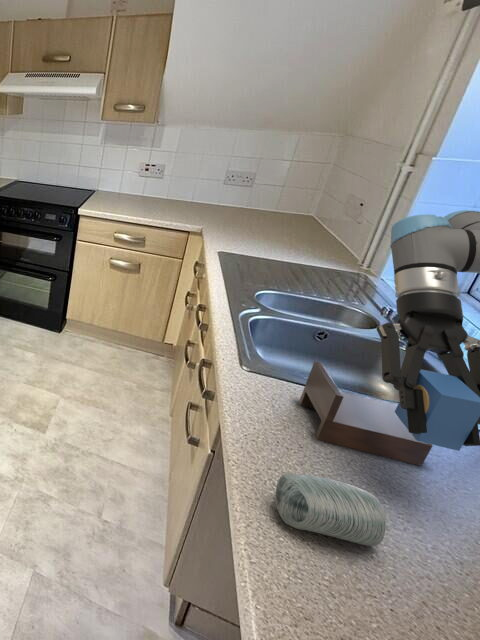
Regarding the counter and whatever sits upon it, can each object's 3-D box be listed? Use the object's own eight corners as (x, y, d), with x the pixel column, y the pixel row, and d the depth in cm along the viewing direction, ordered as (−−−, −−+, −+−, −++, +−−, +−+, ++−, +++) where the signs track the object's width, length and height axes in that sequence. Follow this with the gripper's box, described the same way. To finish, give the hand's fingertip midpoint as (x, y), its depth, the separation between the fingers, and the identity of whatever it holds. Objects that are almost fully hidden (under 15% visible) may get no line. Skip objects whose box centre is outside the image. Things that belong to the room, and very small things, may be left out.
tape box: (433, 421, 69) (457, 376, 66) (460, 451, 63) (488, 404, 60) (393, 411, 71) (414, 368, 68) (415, 440, 65) (440, 394, 62)
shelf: (389, 423, 87) (410, 380, 83) (421, 466, 77) (447, 419, 73) (298, 402, 93) (314, 361, 89) (317, 439, 83) (335, 395, 79)
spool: (282, 529, 61) (308, 467, 62) (255, 500, 71) (278, 446, 71) (389, 584, 58) (416, 518, 58) (345, 546, 67) (369, 489, 67)
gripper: (372, 280, 71) (382, 418, 63) (520, 301, 65) (552, 458, 57) (349, 295, 78) (354, 422, 69) (481, 316, 71) (504, 458, 63)
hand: (443, 438), depth 63 cm, fingers closed on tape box, 5 cm apart
